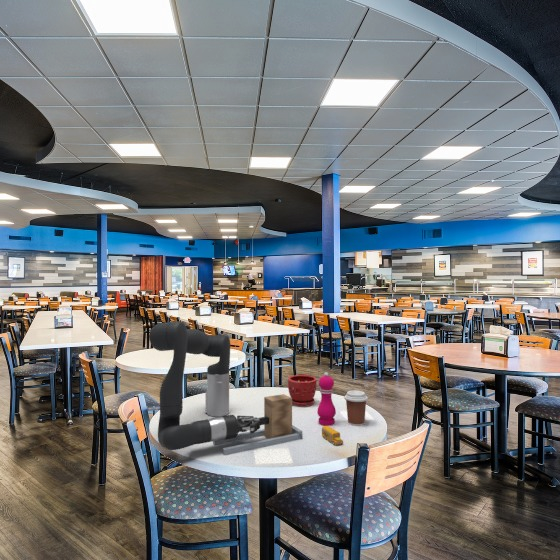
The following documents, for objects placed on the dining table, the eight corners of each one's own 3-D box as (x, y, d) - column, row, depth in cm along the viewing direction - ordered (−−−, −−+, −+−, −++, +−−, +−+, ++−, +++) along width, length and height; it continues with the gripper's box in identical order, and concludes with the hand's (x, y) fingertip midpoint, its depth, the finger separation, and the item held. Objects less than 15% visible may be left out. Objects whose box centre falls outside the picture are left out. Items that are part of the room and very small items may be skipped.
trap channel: (224, 456, 129) (224, 446, 129) (213, 444, 139) (213, 435, 139) (302, 439, 143) (302, 430, 143) (286, 430, 153) (286, 422, 153)
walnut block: (272, 441, 140) (272, 401, 140) (264, 436, 145) (264, 397, 146) (292, 437, 144) (292, 397, 144) (283, 432, 149) (283, 394, 149)
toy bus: (335, 446, 137) (335, 435, 137) (321, 437, 146) (321, 426, 146) (343, 445, 138) (343, 434, 138) (329, 436, 147) (329, 425, 147)
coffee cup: (343, 419, 165) (343, 389, 165) (366, 419, 164) (366, 389, 164) (345, 426, 156) (344, 395, 156) (369, 427, 155) (369, 395, 155)
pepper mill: (316, 420, 164) (316, 370, 164) (334, 420, 164) (334, 370, 164) (318, 426, 157) (317, 374, 157) (336, 426, 157) (336, 374, 157)
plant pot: (282, 404, 187) (282, 378, 187) (299, 398, 197) (299, 373, 197) (305, 409, 178) (304, 382, 178) (322, 403, 188) (322, 377, 188)
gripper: (228, 422, 129) (276, 414, 137) (214, 411, 141) (259, 404, 149) (228, 446, 129) (277, 436, 137) (214, 433, 140) (259, 425, 149)
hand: (268, 420), depth 143 cm, fingers closed
